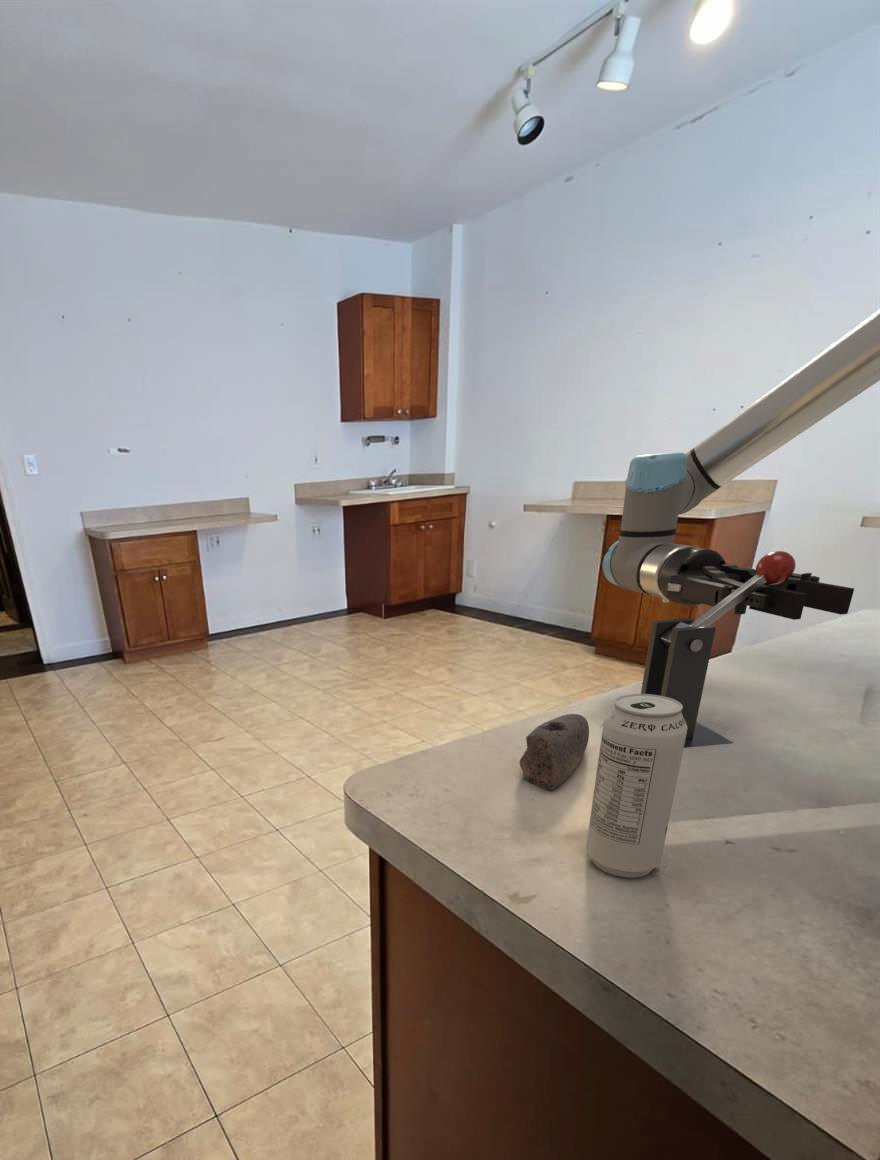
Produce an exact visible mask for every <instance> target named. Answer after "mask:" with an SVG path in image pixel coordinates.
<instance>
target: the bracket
mask: <svg viewBox="0 0 880 1160" xmlns="http://www.w3.org/2000/svg"><path fill="white" fill-rule="evenodd" d="M680 622H682V623H685V624H688V625H690V624H692V623H693V622H694V619H692V618H689V617H686V618H674V619H662V620H653V621H652V622H651V630H650V635H649V641H648V647H647V654H646V658H645V659H646V660H645V665H644V672H643V678H642V683H641V690H640V694H651V695H659V696H664V697H668V698H671V699H674V700H676V701H678V702H680V703H681V704H682V706H683V708H682V711H681V713H682V715H683V718H684V720H685V722H686V725H687V728H688V729H687V734H686V739H685V744H684V748H683V749H686V748H698V747H707V746H708V747H709V746H719V745H729V744H730V745H731V744H735V742H733V740H730V739H728V738H726V737H725V736H723V735H721V734H720V733H717V732H716V731H714V730H712V729H711V728H708V727H707V726H705V725H703V724H702V723H699V722H698V721H697V720H698V715H699V710H700V706H701V701H702V696H703V691H704V688H705V687H704V686H705V682H706V677H707V672H708V667H709V664H710V658H711V653H712V649H713V643H714V639H715V633H716V628H717V626H713V625H712V624H710V625H708V626H697V627H685V628H674V627H675V626H676V625H678V624H679V623H680ZM672 628H673V630H672V636H671V641H670V647H669V651H668V650H667V648H666V646H665V645H664V643H663V642H662V640H661V638H660V637H662V636H663V635H664V634H666V633H667V632H668V631H670V630H671V629H672ZM598 726H599V727H600V728H601V729H603V723H602V724H598Z"/></svg>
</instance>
